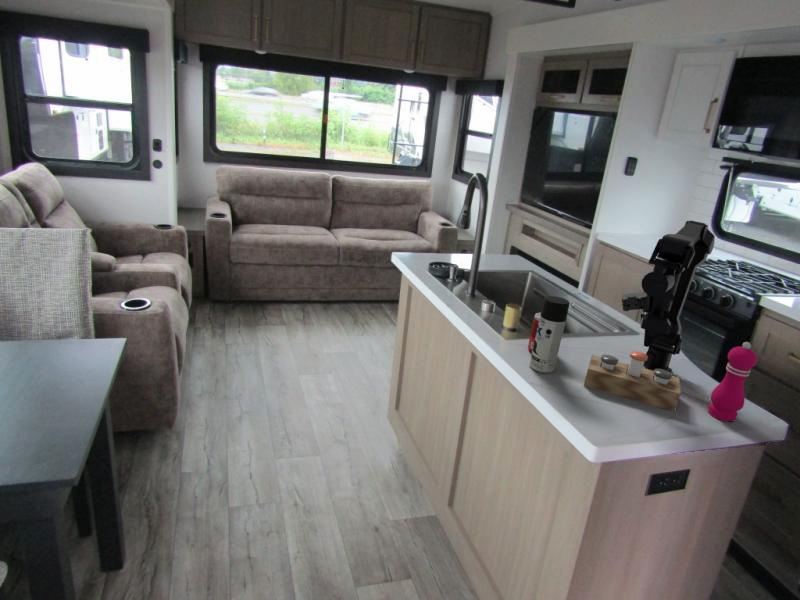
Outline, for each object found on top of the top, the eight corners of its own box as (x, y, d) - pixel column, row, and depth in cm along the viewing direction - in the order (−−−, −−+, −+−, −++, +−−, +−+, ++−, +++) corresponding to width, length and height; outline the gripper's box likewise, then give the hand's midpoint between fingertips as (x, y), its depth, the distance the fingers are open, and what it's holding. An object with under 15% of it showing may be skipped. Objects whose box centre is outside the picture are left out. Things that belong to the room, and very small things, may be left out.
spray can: (527, 361, 155) (541, 293, 148) (551, 363, 155) (566, 296, 148) (531, 372, 149) (546, 302, 142) (556, 375, 149) (573, 305, 142)
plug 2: (664, 395, 144) (672, 371, 141) (664, 402, 140) (672, 378, 138) (647, 390, 145) (654, 367, 143) (647, 397, 141) (654, 373, 139)
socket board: (673, 394, 145) (679, 377, 144) (674, 411, 137) (680, 394, 135) (587, 370, 153) (592, 354, 151) (583, 385, 144) (588, 368, 143)
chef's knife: (718, 411, 141) (723, 408, 142) (719, 407, 140) (725, 404, 142) (649, 377, 155) (655, 374, 156) (650, 373, 154) (656, 371, 156)
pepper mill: (724, 424, 133) (752, 350, 127) (699, 409, 140) (724, 336, 133) (744, 421, 136) (772, 347, 129) (718, 405, 142) (744, 334, 136)
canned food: (555, 360, 157) (564, 324, 154) (527, 354, 159) (535, 319, 155) (554, 349, 165) (562, 315, 161) (527, 344, 166) (534, 310, 162)
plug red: (641, 377, 145) (648, 354, 143) (640, 383, 141) (647, 360, 139) (624, 372, 146) (630, 349, 144) (623, 379, 143) (630, 355, 140)
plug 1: (612, 380, 148) (618, 357, 146) (611, 386, 145) (617, 363, 142) (596, 375, 150) (602, 353, 147) (594, 382, 146) (600, 359, 144)
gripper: (628, 271, 146) (614, 326, 151) (627, 290, 129) (610, 350, 134) (674, 281, 142) (657, 336, 147) (679, 301, 125) (660, 363, 131)
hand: (645, 346), depth 140 cm, fingers closed
